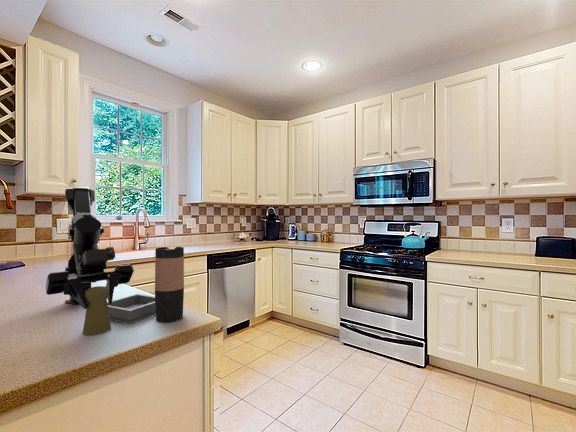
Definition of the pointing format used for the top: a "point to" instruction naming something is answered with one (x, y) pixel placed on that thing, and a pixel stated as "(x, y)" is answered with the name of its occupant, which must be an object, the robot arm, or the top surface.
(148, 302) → the gray square tray
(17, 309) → the top surface
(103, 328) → the cork
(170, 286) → the travel mug
